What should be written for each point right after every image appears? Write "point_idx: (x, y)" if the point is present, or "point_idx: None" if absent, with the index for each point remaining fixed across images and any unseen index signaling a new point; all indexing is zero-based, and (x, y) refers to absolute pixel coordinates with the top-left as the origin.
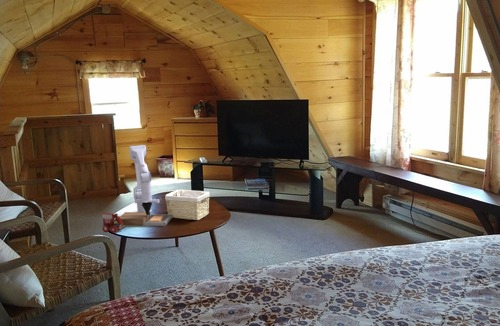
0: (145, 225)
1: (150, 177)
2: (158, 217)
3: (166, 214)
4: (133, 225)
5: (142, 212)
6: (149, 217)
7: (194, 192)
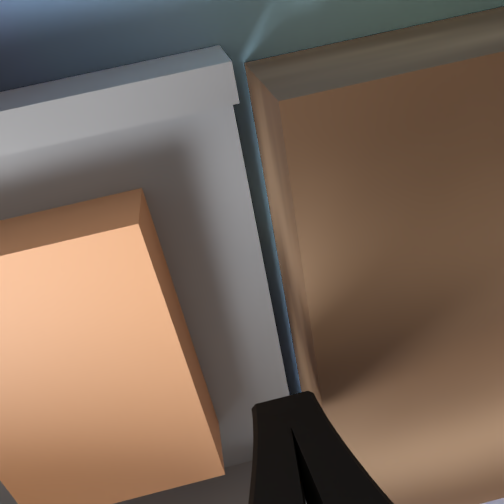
0: (175, 57)
1: None
2: (57, 435)
3: None
4: (487, 11)
5: (484, 493)
6: None
7: None
